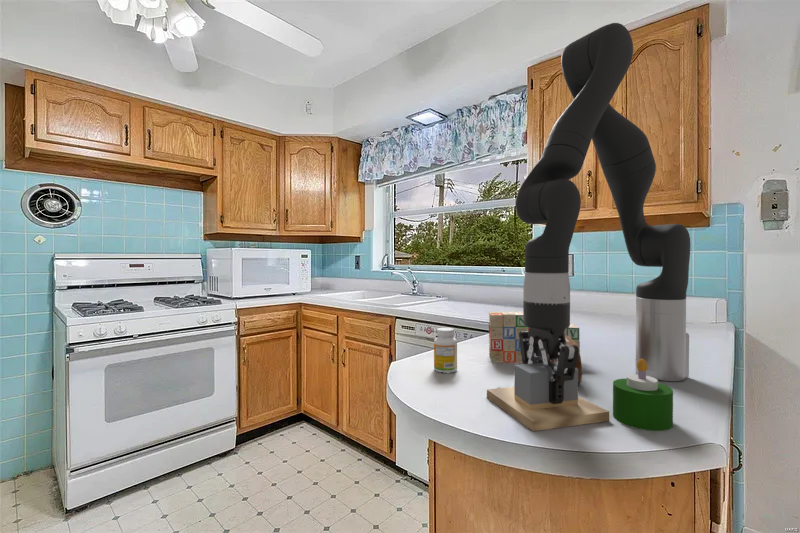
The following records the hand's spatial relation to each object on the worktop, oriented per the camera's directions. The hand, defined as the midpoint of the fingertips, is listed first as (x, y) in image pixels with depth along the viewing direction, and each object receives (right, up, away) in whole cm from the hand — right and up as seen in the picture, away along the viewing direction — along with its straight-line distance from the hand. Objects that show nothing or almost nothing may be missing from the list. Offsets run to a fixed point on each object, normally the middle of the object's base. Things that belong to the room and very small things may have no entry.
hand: (545, 396), depth 68 cm
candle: (+14, -3, -4) cm, 15 cm away
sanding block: (0, -1, 0) cm, 1 cm away
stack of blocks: (+9, -2, +33) cm, 34 cm away
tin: (+12, -2, +19) cm, 23 cm away
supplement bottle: (-14, -2, +25) cm, 29 cm away
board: (0, -2, +1) cm, 3 cm away
